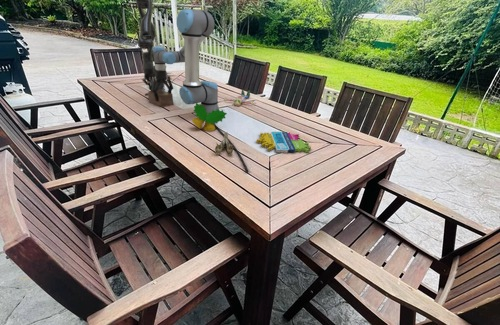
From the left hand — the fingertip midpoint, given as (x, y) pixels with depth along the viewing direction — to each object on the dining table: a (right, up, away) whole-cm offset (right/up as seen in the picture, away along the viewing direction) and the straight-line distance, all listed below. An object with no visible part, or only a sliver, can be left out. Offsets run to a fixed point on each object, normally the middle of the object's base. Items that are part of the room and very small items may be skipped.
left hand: (151, 90), depth 206 cm
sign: (+97, -46, -54) cm, 120 cm away
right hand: (+12, -9, -6) cm, 16 cm away
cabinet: (+9, -11, -3) cm, 14 cm away
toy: (+71, -6, +15) cm, 73 cm away
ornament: (+52, -36, -41) cm, 76 cm away
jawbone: (+65, -51, -68) cm, 107 cm away
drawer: (+5, -8, 0) cm, 10 cm away
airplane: (-17, +31, +68) cm, 77 cm away
